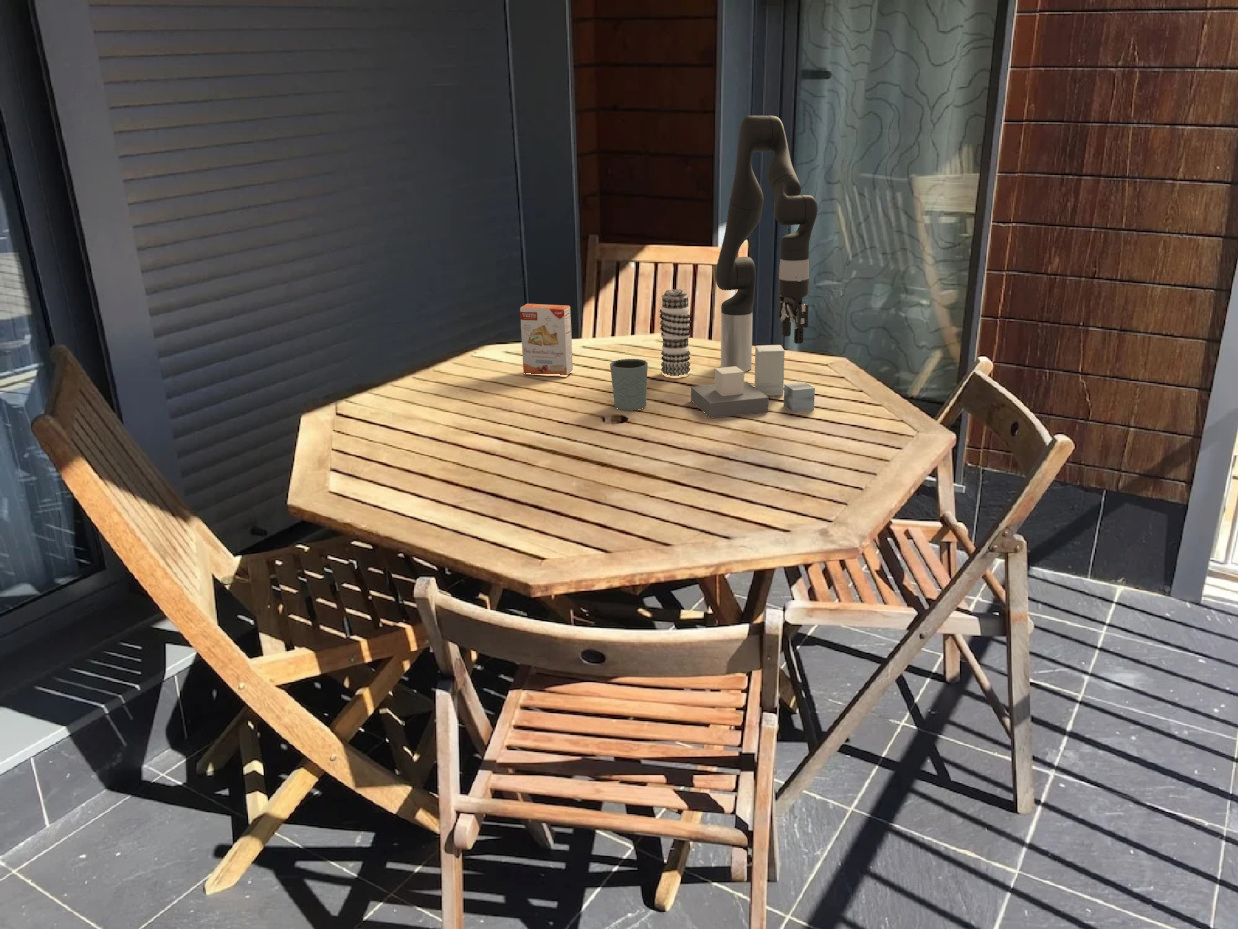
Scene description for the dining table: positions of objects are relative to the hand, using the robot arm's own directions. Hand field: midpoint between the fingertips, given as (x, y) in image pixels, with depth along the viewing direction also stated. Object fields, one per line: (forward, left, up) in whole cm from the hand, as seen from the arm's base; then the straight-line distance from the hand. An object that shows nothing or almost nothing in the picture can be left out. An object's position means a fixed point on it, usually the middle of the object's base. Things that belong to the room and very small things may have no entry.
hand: (792, 339), depth 268 cm
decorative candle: (-42, -19, -19) cm, 49 cm away
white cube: (-7, -15, -15) cm, 22 cm away
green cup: (-16, -40, -19) cm, 47 cm away
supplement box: (-16, 0, -19) cm, 24 cm away
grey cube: (0, +2, -19) cm, 19 cm away
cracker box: (-55, -55, -19) cm, 80 cm away
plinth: (-7, -15, -19) cm, 25 cm away
